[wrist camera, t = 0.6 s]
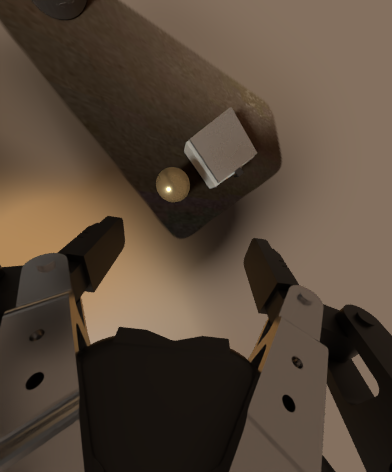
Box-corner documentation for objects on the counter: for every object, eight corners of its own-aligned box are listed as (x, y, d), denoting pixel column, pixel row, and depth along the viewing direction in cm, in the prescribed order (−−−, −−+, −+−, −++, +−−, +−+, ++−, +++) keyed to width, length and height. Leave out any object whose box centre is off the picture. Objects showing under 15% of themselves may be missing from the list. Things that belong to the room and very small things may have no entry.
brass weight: (155, 187, 34) (148, 181, 24) (174, 172, 34) (175, 159, 24) (170, 207, 35) (170, 208, 25) (189, 192, 35) (196, 188, 25)
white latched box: (183, 151, 33) (186, 142, 28) (219, 123, 33) (227, 110, 28) (210, 189, 35) (216, 187, 30) (243, 163, 35) (254, 157, 30)
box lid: (187, 147, 31) (189, 138, 26) (222, 119, 31) (231, 106, 26) (216, 190, 33) (223, 188, 29) (249, 164, 33) (261, 159, 29)
